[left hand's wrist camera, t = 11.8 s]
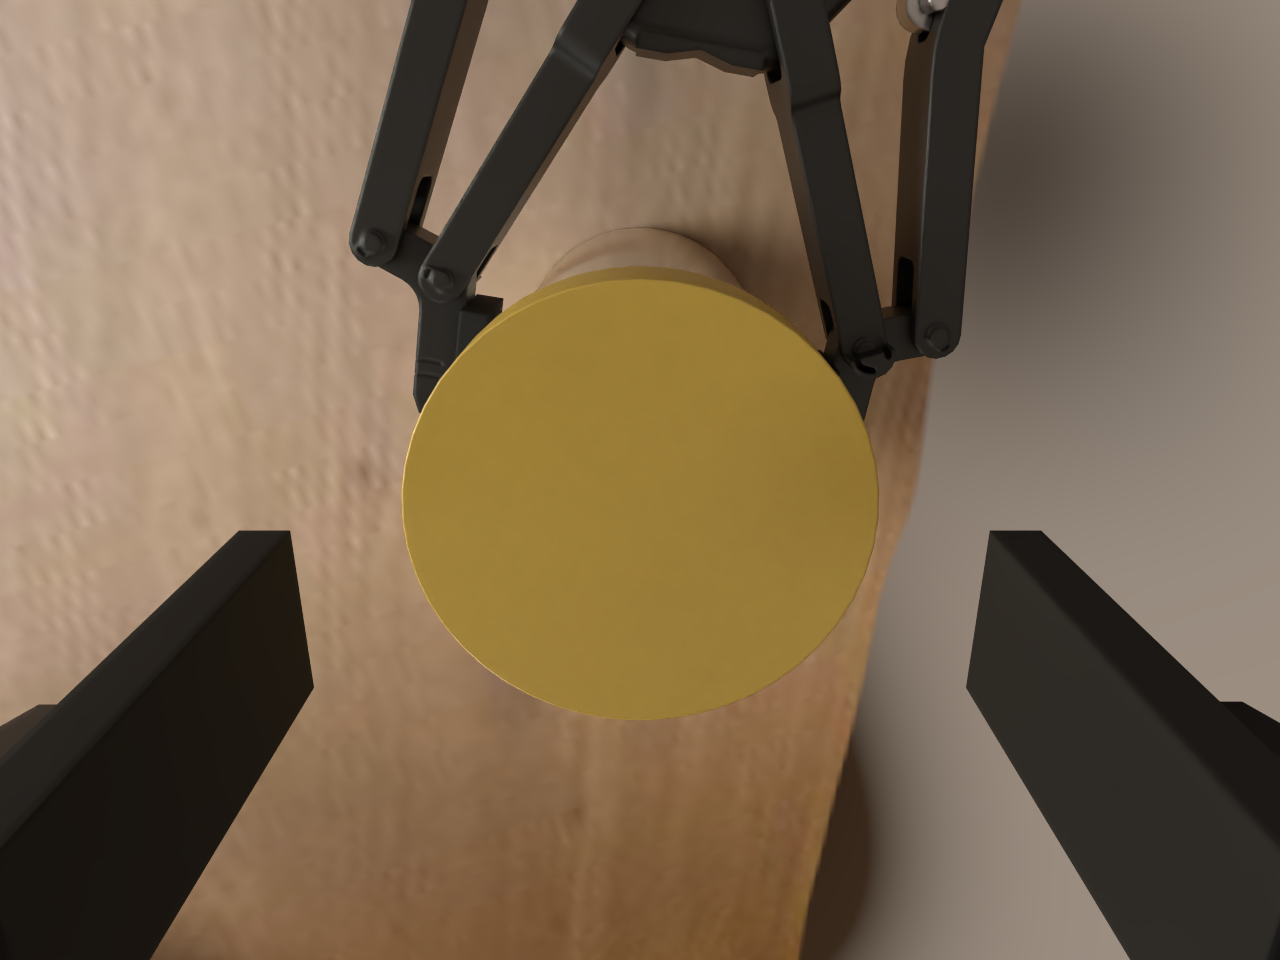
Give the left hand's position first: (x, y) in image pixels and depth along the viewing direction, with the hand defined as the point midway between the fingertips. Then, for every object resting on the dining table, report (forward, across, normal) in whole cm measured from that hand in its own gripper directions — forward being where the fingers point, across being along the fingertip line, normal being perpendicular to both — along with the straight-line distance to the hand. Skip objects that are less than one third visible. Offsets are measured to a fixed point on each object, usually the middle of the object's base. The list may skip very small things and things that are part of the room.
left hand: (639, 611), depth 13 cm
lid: (+4, 0, 0) cm, 4 cm away
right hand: (+12, -1, -5) cm, 13 cm away
